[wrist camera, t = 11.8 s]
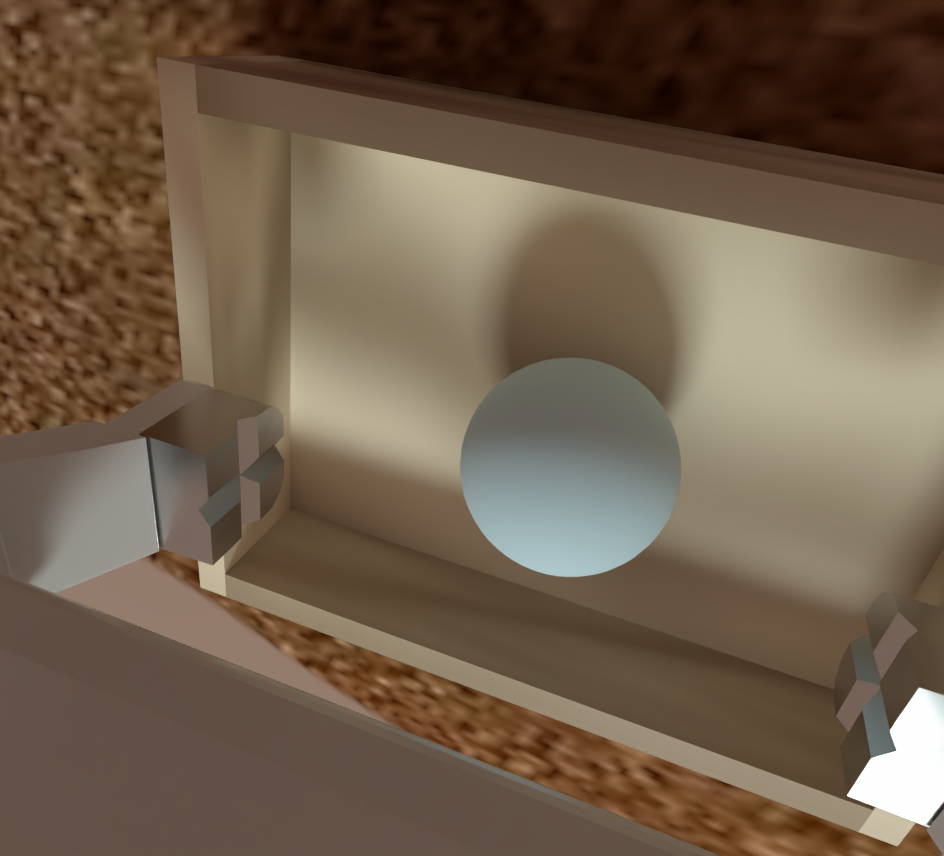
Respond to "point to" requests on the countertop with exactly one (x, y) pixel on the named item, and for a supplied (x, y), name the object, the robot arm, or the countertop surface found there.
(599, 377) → the ball
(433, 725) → the countertop surface
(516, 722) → the countertop surface
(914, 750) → the robot arm
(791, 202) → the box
